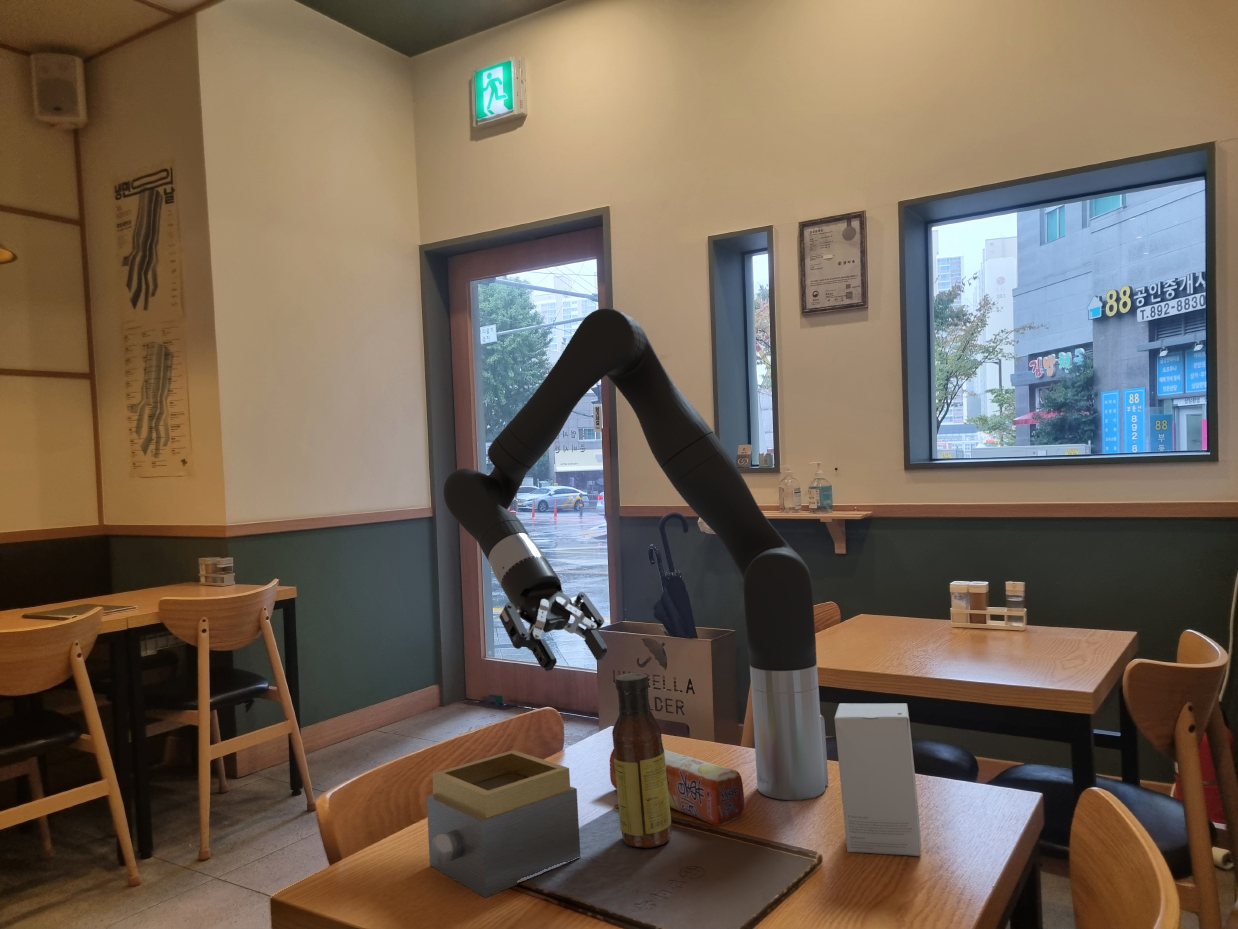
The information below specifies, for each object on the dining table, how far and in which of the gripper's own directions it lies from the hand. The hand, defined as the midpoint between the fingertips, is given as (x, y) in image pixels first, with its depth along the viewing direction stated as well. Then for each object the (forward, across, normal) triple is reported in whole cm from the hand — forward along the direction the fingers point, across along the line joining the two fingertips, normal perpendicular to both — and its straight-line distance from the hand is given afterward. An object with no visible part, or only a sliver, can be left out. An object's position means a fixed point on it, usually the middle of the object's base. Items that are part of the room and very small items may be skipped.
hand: (578, 661), depth 111 cm
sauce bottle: (+22, 0, +7) cm, 23 cm away
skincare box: (+38, +17, -9) cm, 43 cm away
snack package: (+18, +12, +11) cm, 24 cm away
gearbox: (+17, -15, +12) cm, 26 cm away
